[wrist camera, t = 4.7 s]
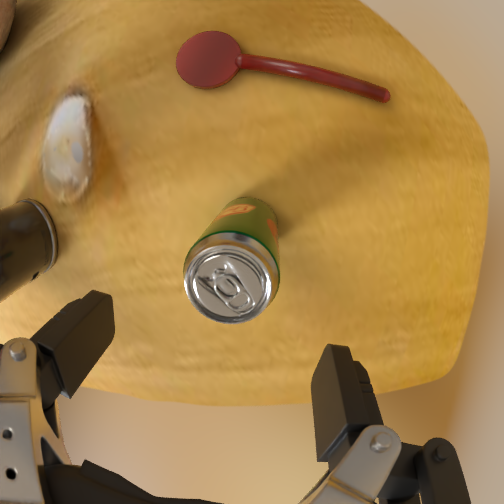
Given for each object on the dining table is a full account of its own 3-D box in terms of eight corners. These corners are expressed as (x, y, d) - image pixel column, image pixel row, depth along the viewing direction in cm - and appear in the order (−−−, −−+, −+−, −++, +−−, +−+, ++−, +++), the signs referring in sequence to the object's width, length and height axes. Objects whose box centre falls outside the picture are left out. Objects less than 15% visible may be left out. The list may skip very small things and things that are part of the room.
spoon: (173, 86, 21) (167, 83, 20) (186, 33, 19) (181, 27, 18) (382, 127, 21) (388, 126, 20) (390, 72, 19) (396, 68, 18)
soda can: (252, 184, 24) (233, 214, 12) (289, 229, 25) (301, 297, 13) (208, 219, 25) (157, 277, 14) (244, 262, 26) (223, 345, 15)
